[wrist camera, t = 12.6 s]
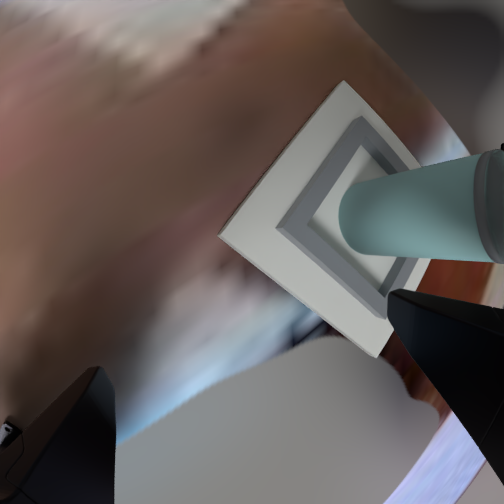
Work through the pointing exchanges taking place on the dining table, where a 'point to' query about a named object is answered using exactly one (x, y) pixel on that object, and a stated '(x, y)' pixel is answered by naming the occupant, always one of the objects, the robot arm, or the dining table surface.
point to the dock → (327, 220)
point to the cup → (430, 211)
